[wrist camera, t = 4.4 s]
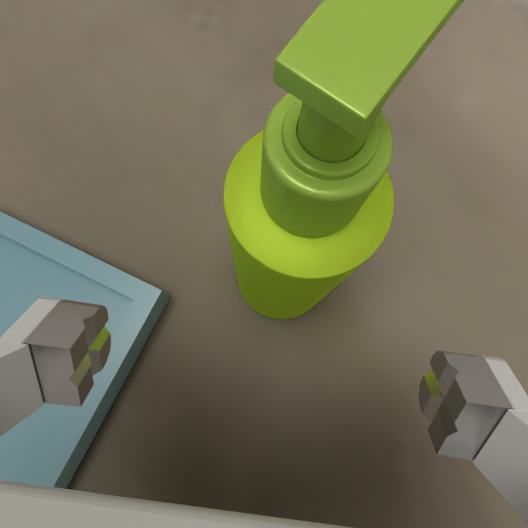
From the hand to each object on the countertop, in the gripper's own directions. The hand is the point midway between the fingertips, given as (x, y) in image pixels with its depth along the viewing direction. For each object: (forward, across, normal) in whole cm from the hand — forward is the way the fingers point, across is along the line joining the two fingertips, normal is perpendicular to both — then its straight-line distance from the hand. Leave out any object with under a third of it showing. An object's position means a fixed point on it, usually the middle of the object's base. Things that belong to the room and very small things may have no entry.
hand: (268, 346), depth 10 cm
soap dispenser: (+15, -1, +7) cm, 17 cm away
